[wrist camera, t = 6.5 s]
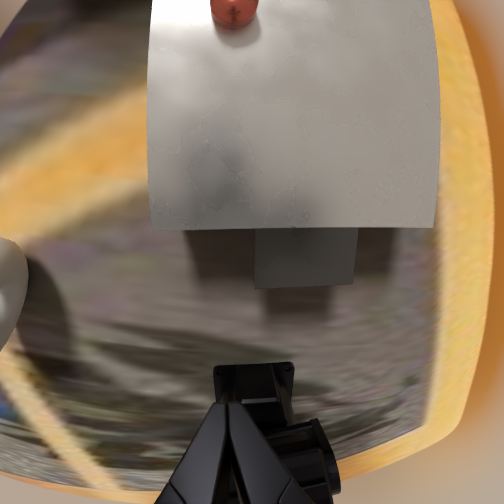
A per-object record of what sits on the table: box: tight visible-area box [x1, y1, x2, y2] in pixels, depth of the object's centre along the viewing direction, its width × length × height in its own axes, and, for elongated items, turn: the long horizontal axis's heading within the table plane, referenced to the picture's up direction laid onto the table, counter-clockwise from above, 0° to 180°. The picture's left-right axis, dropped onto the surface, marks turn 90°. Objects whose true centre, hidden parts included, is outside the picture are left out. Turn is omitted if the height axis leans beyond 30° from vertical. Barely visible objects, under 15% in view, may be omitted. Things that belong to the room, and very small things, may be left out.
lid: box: [147, 0, 440, 289], centre depth 12 cm, size 17×14×2 cm
